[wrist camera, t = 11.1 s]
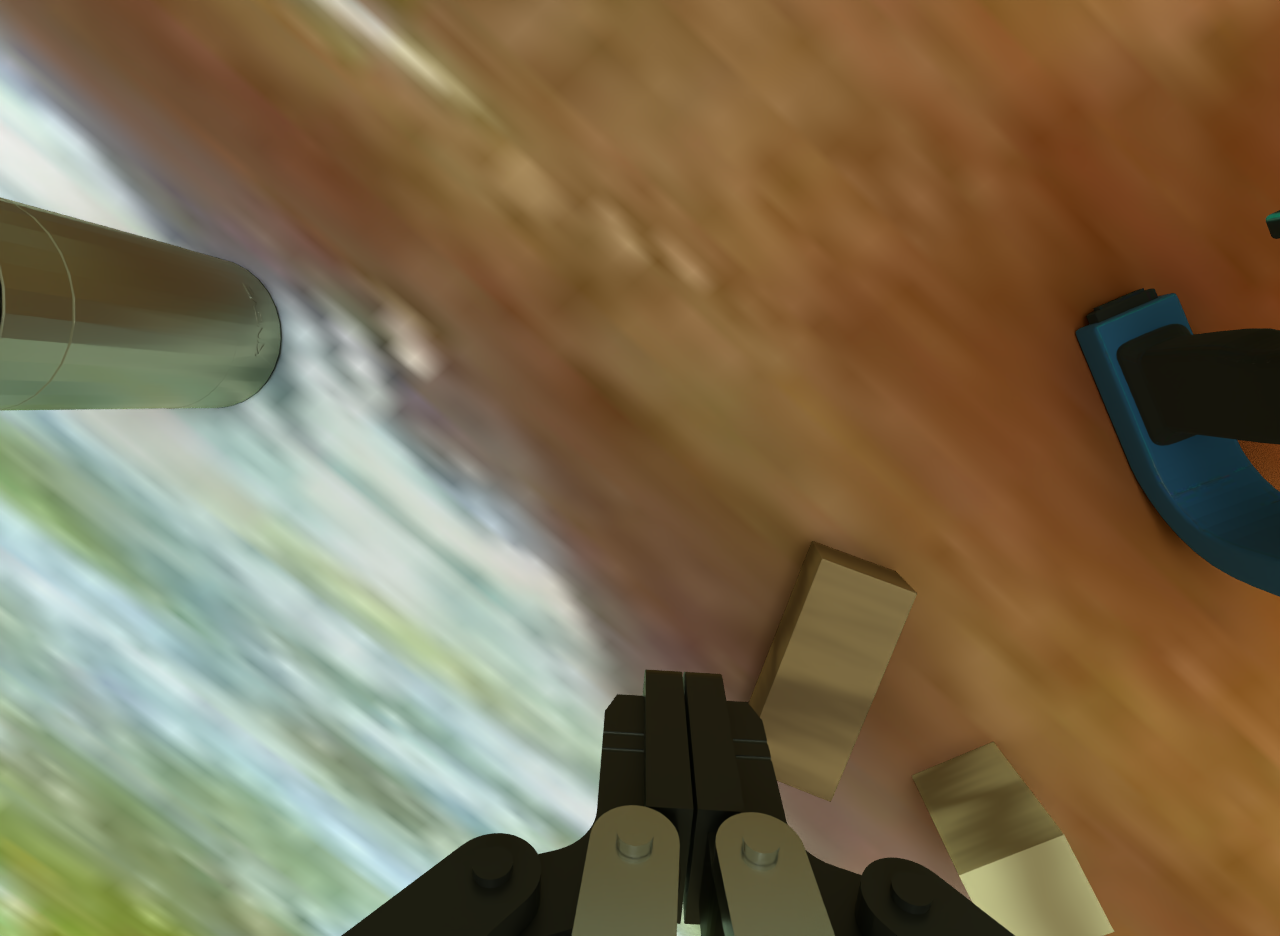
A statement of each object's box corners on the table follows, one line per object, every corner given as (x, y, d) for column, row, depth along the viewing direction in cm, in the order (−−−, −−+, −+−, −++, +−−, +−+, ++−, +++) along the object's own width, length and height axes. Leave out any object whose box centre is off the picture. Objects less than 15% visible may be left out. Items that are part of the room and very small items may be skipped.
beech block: (950, 850, 42) (1008, 970, 34) (911, 775, 42) (958, 875, 33) (1032, 818, 42) (1113, 931, 33) (993, 741, 41) (1064, 834, 33)
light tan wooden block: (830, 802, 38) (917, 593, 37) (740, 766, 39) (822, 558, 37) (819, 755, 43) (895, 570, 42) (739, 724, 44) (811, 540, 42)
